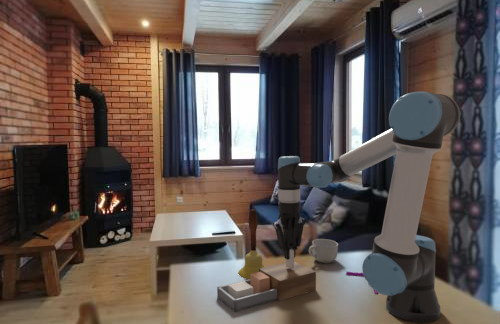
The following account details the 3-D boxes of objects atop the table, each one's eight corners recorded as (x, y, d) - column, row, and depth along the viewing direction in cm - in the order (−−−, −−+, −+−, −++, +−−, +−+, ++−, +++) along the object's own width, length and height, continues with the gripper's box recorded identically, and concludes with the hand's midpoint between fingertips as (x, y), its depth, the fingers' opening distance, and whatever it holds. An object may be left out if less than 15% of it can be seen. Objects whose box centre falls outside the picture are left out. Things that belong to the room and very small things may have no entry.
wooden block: (315, 290, 131) (315, 271, 130) (280, 300, 123) (280, 281, 122) (293, 277, 142) (293, 260, 141) (259, 286, 134) (258, 268, 134)
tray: (277, 299, 124) (277, 289, 123) (234, 311, 116) (234, 300, 115) (257, 286, 134) (257, 277, 134) (217, 297, 126) (217, 287, 126)
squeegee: (345, 259, 157) (371, 261, 155) (345, 263, 157) (371, 265, 155) (347, 289, 129) (377, 291, 127) (347, 294, 129) (377, 296, 127)
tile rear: (259, 297, 124) (269, 294, 126) (259, 279, 123) (269, 277, 125) (250, 291, 129) (260, 288, 131) (250, 273, 129) (260, 271, 131)
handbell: (276, 273, 147) (275, 209, 145) (252, 282, 138) (251, 214, 136) (254, 265, 156) (253, 205, 154) (231, 272, 147) (230, 209, 145)
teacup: (328, 255, 167) (328, 237, 166) (343, 263, 157) (343, 244, 156) (300, 259, 162) (300, 241, 161) (314, 267, 152) (314, 248, 151)
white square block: (236, 291, 119) (237, 303, 120) (253, 287, 122) (253, 299, 123) (228, 285, 125) (228, 296, 125) (244, 281, 128) (244, 292, 128)
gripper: (297, 197, 137) (297, 260, 139) (267, 201, 131) (268, 268, 132) (310, 200, 131) (311, 266, 133) (280, 204, 124) (281, 274, 126)
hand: (290, 267), depth 133 cm, fingers closed
